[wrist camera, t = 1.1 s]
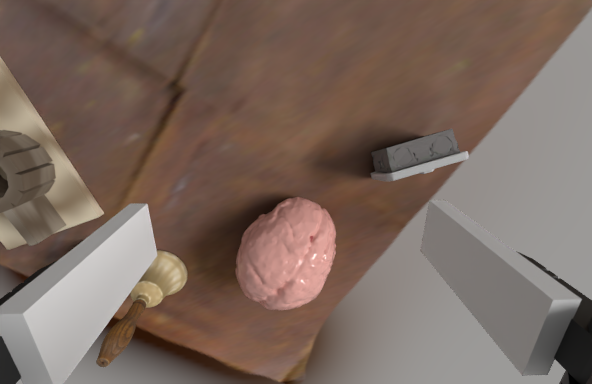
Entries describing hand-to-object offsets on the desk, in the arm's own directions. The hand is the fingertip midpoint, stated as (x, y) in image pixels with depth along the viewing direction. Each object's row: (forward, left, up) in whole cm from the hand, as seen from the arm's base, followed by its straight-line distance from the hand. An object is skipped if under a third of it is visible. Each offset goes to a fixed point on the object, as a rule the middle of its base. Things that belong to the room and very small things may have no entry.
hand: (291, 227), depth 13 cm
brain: (+14, -5, -27) cm, 31 cm away
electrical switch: (+7, +14, -27) cm, 31 cm away
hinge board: (-11, -36, -27) cm, 46 cm away
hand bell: (+13, -26, -27) cm, 40 cm away
